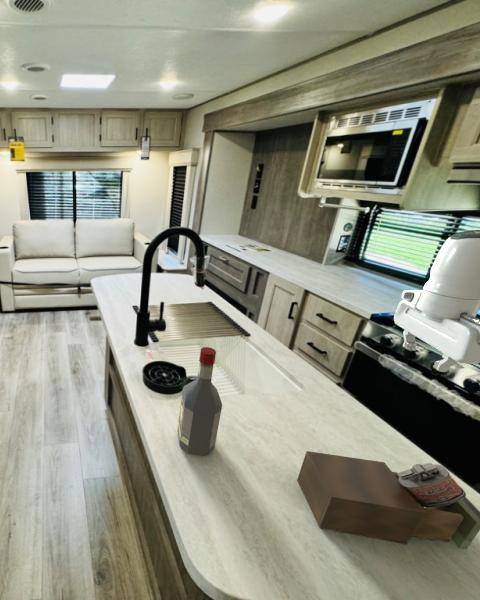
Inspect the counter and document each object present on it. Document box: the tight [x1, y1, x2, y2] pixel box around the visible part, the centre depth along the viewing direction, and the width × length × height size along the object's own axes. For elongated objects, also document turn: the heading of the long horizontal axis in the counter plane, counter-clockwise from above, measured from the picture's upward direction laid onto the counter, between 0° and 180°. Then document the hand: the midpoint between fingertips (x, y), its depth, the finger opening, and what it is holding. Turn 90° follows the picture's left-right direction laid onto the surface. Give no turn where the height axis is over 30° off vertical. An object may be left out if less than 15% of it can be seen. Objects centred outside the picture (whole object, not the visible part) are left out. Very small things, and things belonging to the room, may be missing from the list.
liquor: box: [177, 346, 223, 457], centre depth 83 cm, size 9×9×30 cm
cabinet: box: [296, 450, 425, 545], centre depth 68 cm, size 16×12×10 cm
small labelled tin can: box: [398, 462, 467, 508], centre depth 63 cm, size 8×3×10 cm
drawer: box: [392, 471, 480, 550], centre depth 65 cm, size 18×10×8 cm, turn 77°
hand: (423, 358), depth 73 cm, fingers open, 8 cm apart
